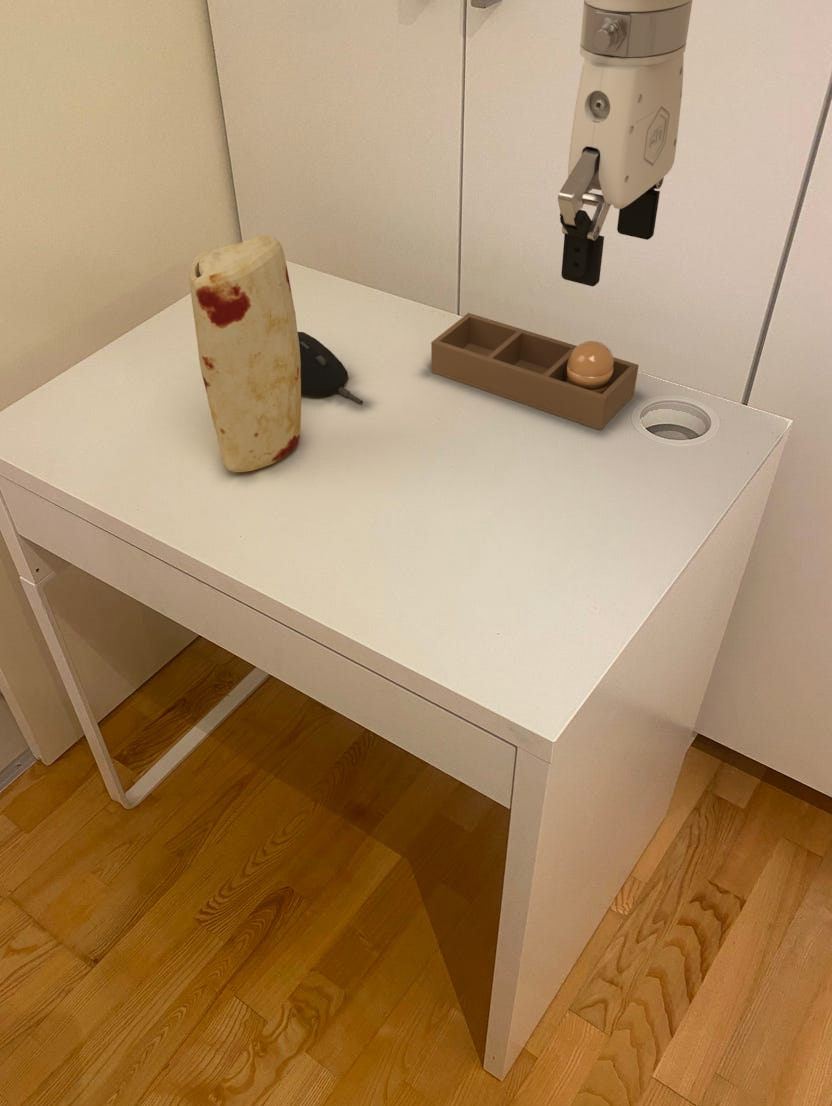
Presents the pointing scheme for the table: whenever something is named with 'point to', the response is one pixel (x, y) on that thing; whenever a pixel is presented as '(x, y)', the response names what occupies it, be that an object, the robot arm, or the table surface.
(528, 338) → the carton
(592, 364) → the egg
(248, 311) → the food model
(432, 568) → the table surface
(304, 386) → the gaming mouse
